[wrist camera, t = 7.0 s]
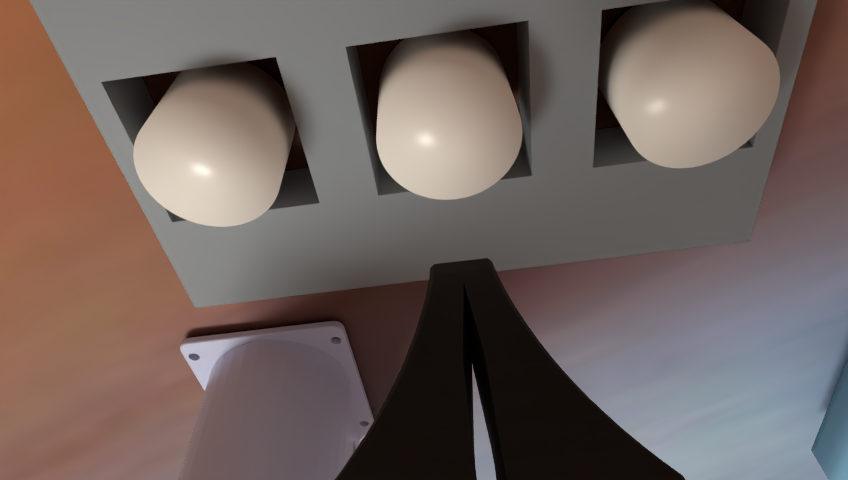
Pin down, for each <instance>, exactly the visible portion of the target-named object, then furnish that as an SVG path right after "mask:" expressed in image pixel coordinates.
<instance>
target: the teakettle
mask: <svg viewBox="0 0 848 480" xmlns="http://www.w3.org/2000/svg"><path fill="white" fill-rule="evenodd" d="M811 450H812V452H813V454H814V456H815V457H816V459H817V461H818V462H819V464H820V466H821V467H822V469H823V471H824V472H825V474H826V476H827V478H828V479H829V480H848V359H847V361H846V364H845V367H844V369H843V371H842V374H841V376H840V379H839V381H838V384H837V386H836V389H835V391H834V394H833V396H832V399H831V402H830V404H829V407H828V409H827V412H826V414H825V417H824V419H823V422H822V424H821V427H820V429H819V432H818V434H817V437H816V439H815V442H814V444H813V447H812V449H811Z"/></svg>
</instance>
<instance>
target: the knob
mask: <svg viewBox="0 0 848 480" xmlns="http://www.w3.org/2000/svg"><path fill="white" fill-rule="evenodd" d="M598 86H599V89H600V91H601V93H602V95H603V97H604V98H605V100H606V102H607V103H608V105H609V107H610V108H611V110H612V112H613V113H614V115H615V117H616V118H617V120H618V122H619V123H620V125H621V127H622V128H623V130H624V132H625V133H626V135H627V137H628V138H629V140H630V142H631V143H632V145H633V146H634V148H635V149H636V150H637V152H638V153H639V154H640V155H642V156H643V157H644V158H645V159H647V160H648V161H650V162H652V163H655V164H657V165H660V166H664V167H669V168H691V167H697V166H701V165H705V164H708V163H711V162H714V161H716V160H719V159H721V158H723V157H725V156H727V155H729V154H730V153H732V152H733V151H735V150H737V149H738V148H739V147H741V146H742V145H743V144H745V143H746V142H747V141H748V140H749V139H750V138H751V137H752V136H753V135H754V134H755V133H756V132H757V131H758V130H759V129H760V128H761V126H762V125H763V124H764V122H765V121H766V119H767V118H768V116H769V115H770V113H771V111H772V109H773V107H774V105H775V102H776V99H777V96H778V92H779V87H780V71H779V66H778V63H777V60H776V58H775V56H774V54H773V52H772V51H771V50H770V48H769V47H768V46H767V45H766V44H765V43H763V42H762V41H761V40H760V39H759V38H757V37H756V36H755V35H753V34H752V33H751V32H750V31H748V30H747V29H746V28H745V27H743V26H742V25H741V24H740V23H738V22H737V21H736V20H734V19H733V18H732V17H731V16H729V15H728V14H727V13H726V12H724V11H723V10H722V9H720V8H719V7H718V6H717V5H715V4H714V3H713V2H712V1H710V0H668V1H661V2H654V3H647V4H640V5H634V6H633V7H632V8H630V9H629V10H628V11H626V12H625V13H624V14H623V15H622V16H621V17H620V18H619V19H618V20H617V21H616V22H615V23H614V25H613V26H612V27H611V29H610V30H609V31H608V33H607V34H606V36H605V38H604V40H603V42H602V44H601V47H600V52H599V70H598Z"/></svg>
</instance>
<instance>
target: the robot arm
mask: <svg viewBox="0 0 848 480" xmlns="http://www.w3.org/2000/svg"><path fill="white" fill-rule="evenodd" d="M334 337H338V338H334ZM180 351H181V352H182V354H183V356H184V357H185V359H186V361H187V362H188V364H189V366H190V367H191V369H192V371H193V372H194V374H195V376H196V377H197V379H198V381H199V382H200V384H201V386H202V387H203V389H204V391H205V393H204V396H203V399H202V403H201V406H200V409H199V413H198V416H197V419H196V423H195V426H194V429H193V433H192V436H191V439H190V442H189V446H188V449H187V452H186V456H185V459H184V462H183V466H182V469H181V472H180V476H179V479H178V480H477V478H476V470H475V456H474V428H473V387H472V364H473V369H474V373H475V378H476V382H477V386H478V391H479V395H480V400H481V404H482V408H483V413H484V417H485V422H486V426H487V430H488V435H489V439H490V443H491V448H492V454H493V459H494V464H495V471H496V479H497V480H685V478H684V477H683V476H682V475H681V474H680V473H678V472H677V471H675V470H674V469H673V468H671V467H670V466H669V465H667V464H666V463H665V462H663V461H662V460H660V459H659V458H658V457H657V456H655V455H654V454H653V453H651V452H650V451H649V450H648V449H646V448H645V447H644V446H642V445H641V444H640V443H639V442H638V441H636V440H635V439H634V438H633V437H632V436H630V435H629V434H628V433H627V432H626V431H624V430H623V429H622V428H621V427H620V426H619V425H617V424H616V423H615V422H614V421H613V420H612V419H611V418H610V417H609V416H608V415H607V414H606V413H604V412H603V411H602V410H601V409H600V408H599V407H598V406H597V405H596V404H595V403H594V402H593V401H591V400H590V399H589V398H588V397H587V396H586V395H585V394H584V392H583V391H582V390H581V389H580V388H579V387H578V386H577V385H576V384H575V383H574V382H573V381H572V380H571V379H570V378H569V377H568V375H567V374H566V373H565V372H564V371H563V370H562V369H561V368H560V367H559V365H558V364H557V363H556V362H555V361H554V359H553V358H552V357H551V356H550V355H549V353H548V352H547V351H546V349H545V348H544V347H543V346H542V344H541V343H540V342H539V340H538V339H537V338H536V336H535V335H534V334H533V332H532V331H531V330H530V328H529V327H528V325H527V324H526V322H525V321H524V319H523V318H522V316H521V315H520V313H519V312H518V310H517V309H516V307H515V306H514V304H513V302H512V301H511V299H510V297H509V296H508V294H507V292H506V290H505V288H504V287H503V285H502V283H501V281H500V279H499V277H498V275H497V272H496V270H495V268H494V265H493V262H492V261H491V260H489V259H488V258H483V259H474V260H465V261H456V262H447V263H438V264H434V265H433V266H432V267H431V268H430V277H429V284H428V289H427V294H426V298H425V302H424V306H423V310H422V313H421V316H420V319H419V323H418V326H417V329H416V332H415V335H414V338H413V340H412V343H411V345H410V348H409V350H408V353H407V355H406V358H405V361H404V363H403V365H402V368H401V370H400V372H399V374H398V377H397V379H396V381H395V383H394V385H393V387H392V389H391V391H390V393H389V395H388V397H387V399H386V401H385V402H384V404H383V406H382V408H381V410H380V411H379V413H378V415H377V417H376V418H375V420H374V418H373V415H372V412H371V409H370V405H369V402H368V399H367V396H366V393H365V390H364V387H363V384H362V380H361V377H360V374H359V371H358V368H357V365H356V362H355V359H354V355H353V352H352V349H351V346H350V343H349V340H348V337H347V334H346V330H345V327H344V326H343V324H341V323H340V322H337V321H328V322H319V323H311V324H302V325H294V326H285V327H277V328H268V329H260V330H251V331H243V332H234V333H226V334H217V335H209V336H200V337H192V338H186V339H184V340H183V341H182V343H181V346H180ZM359 439H363V440H362V441H361V443H360V444H359Z"/></svg>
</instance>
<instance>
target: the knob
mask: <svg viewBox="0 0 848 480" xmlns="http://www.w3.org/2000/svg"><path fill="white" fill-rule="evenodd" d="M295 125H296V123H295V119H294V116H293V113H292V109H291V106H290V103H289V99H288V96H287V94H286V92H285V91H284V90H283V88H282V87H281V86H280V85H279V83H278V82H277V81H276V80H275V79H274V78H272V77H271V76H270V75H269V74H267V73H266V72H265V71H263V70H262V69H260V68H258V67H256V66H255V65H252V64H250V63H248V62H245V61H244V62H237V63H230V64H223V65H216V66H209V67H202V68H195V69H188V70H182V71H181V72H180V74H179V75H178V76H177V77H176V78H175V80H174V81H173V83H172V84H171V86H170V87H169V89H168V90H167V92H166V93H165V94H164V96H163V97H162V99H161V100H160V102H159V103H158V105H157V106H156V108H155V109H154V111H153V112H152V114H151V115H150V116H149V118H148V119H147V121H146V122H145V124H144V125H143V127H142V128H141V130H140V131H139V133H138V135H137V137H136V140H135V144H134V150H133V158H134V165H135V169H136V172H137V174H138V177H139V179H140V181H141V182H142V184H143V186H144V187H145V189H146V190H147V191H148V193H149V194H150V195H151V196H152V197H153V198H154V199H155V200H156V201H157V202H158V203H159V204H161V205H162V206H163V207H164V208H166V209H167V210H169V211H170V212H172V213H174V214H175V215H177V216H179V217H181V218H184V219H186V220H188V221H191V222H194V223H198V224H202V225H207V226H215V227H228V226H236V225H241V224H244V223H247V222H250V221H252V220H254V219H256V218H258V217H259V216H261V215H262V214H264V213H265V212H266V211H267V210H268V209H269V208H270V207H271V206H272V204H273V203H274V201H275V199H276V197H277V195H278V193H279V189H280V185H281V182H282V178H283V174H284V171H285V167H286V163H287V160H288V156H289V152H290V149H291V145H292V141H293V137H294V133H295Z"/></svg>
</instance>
